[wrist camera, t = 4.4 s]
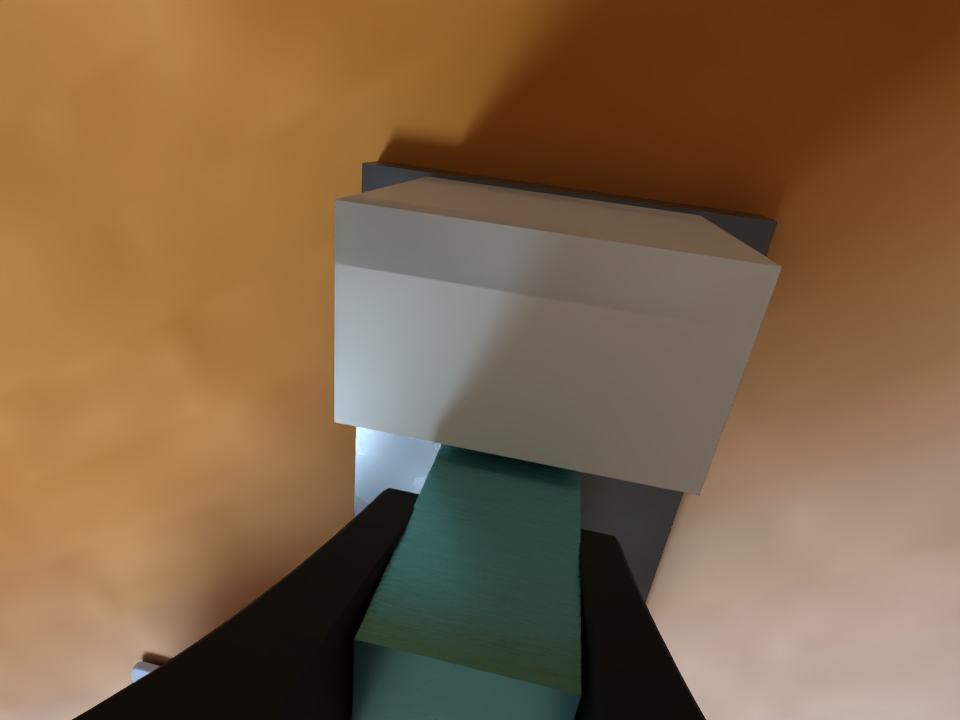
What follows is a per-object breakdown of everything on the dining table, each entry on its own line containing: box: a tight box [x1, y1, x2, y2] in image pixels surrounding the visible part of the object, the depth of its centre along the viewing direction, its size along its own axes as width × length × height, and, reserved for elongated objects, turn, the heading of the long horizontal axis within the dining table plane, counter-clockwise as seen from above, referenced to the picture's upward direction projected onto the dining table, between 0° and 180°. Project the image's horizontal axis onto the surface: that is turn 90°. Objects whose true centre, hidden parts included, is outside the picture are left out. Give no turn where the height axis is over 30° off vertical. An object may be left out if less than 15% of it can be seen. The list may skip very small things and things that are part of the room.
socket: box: [334, 177, 782, 495], centre depth 11 cm, size 4×7×5 cm, turn 83°
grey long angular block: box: [354, 161, 777, 602], centre depth 16 cm, size 25×10×6 cm, turn 173°
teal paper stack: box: [352, 444, 581, 720], centre depth 11 cm, size 16×3×8 cm, turn 173°
